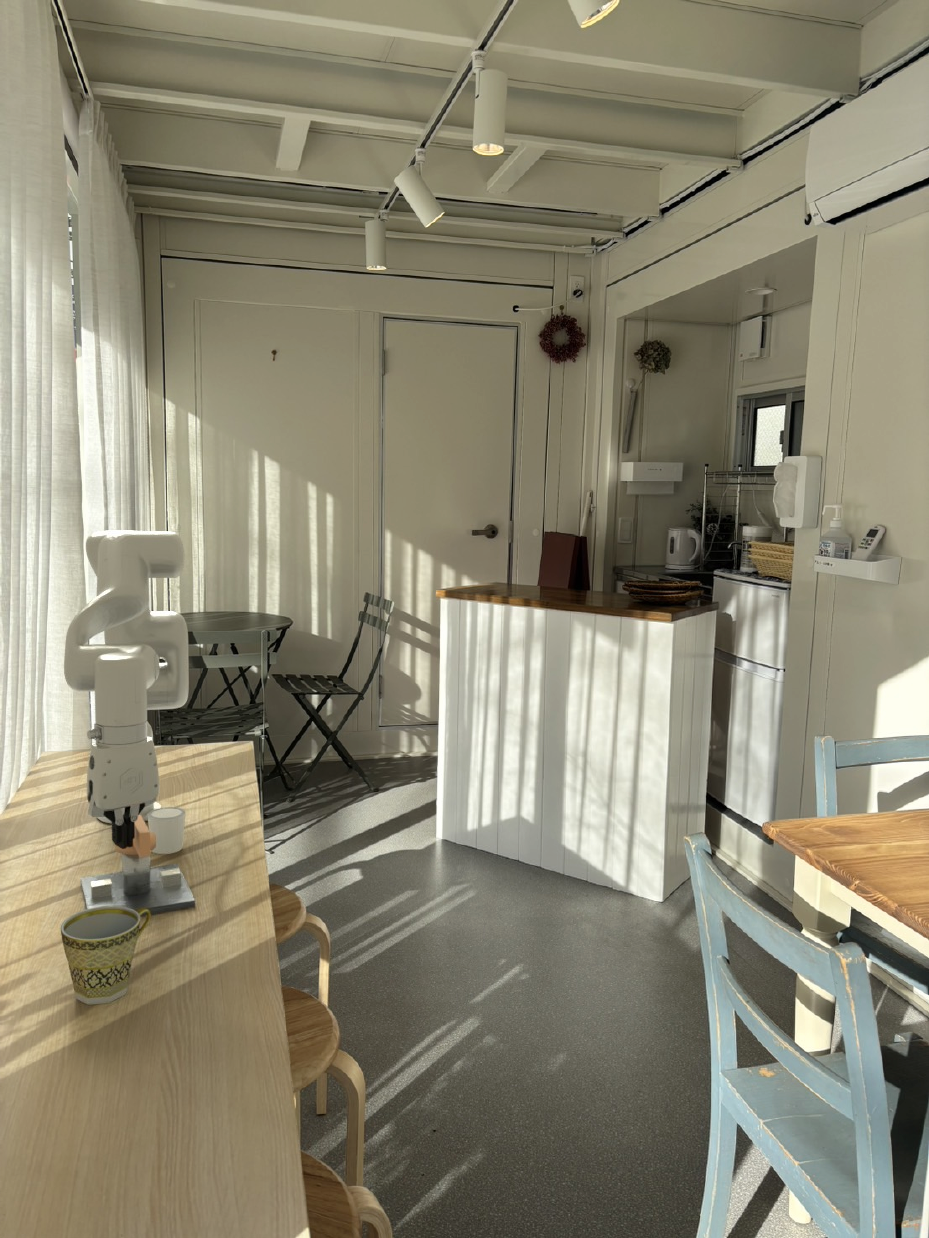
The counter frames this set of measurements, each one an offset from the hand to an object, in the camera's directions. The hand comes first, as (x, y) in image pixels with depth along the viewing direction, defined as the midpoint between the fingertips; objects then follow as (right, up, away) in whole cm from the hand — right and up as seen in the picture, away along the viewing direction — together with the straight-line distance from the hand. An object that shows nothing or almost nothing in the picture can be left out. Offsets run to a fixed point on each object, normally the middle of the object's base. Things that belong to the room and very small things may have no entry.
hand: (123, 845), depth 146 cm
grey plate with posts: (-1, -11, +8) cm, 14 cm away
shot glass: (-2, -8, +29) cm, 30 cm away
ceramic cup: (+6, -15, -19) cm, 25 cm away
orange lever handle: (0, -2, +6) cm, 6 cm away
